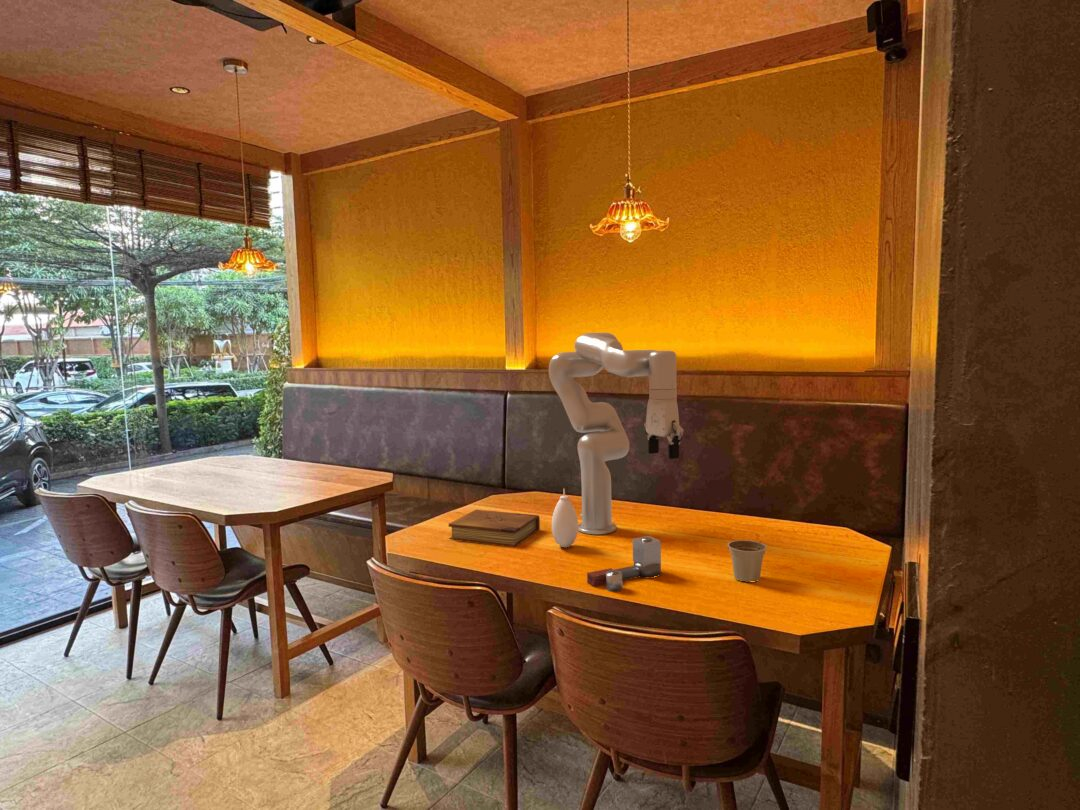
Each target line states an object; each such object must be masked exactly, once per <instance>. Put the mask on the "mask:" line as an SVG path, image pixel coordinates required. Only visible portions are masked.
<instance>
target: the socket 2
mask: <svg viewBox="0 0 1080 810" xmlns="http://www.w3.org/2000/svg"><path fill="white" fill-rule="evenodd" d="M661 542H662V541H661V540H659V539H657V538H655V537H653V536H651V535H647V536H645V535H644V536H640V537H634V538H632V561H633V563H634V562H636V563H638V564H640V565H642V566H643V567H645V566H650V565H656V564H661V565H662V554H661V553H662V549H661V548H662V547H661V546H662V545H661V544H662V543H661Z"/></svg>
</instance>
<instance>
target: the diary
mask: <svg viewBox="0 0 1080 810" xmlns="http://www.w3.org/2000/svg"><path fill="white" fill-rule="evenodd" d="M540 521H541V520H540V516H539V514H529V513H517V512H509V511H508V512H505V511H497V510H496V511H495V510H483V509H475V510H472V511H470V512H468V513H467V514H465V515H463V516H461V517H459V518H457V519H455V520H453V521H451V522H449V523H448V527H449V528H451V537H449V538H448V539H455V540H454V541H456V540H462V541H461V542H465V541H470V542H469V543H474V542H478V543H477V544H483V543H487V544H486V545H492V544H495V545H496V546H501V545H504V546H503V547H510V546H514V548H516V547H518V546H519V545H521V544H522V543H524V542H525V541H526V540H528V539H529V538H531V535H532V536H533V535H535V534H536V533H537V531H538V530H539V531H540V530H541V526H540V525H541V523H540ZM539 531H538V532H539ZM534 533H535V534H534ZM527 538H528V539H527ZM524 540H525V541H524ZM521 542H522V543H521ZM518 544H519V545H518ZM495 545H494V546H495ZM517 545H518V546H517Z"/></svg>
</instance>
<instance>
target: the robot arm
mask: <svg viewBox="0 0 1080 810" xmlns="http://www.w3.org/2000/svg"><path fill="white" fill-rule="evenodd" d="M623 348H624V347H623V346H622V343H621V342H620V341H619V340H618V338H617V337H616V336H615V335H614V334H613V333H610V332H586V333H584V334H583V333H582V334H581V335H579V336H578V337H577V338H576V340H575V342H574V350H575V351H568V352H566V351H565V352H559V353H556V354H555V355H554V356H552V358H551V359H550V361H549V364H548V377H549V380H550V383H551V385H552V387H553V389H554V390H555V392H556V394H557V395H558V397H559V398H560V401H561V403H562V405H563V408H564V410H565V412H566V415H567V418H568V419H569V420H568V421H569V422H570V423H571V427H572V428H573V430H574V431H576V432H577V433H581V434H582V433H585V434H584V435H582V436H581V437H579V439H578V442H577V448H576V449H577V454H578V458H579V464H580V474H581V475H580V477H581V478H580V479H581V480H580V481H581V482H580V483H581V513H580V514H579V517H580V518H581V522H580V523H578V531H579V532H580V533H583V534H588V535H607V534H612V533H614V532H616V531H617V528H618V527H617V524H616V523H614V522H612V521H613V520H612V516H613V515H612V477H611V476H612V475H611V472H610V471H611V470H609V467H608V466H607V465H606V462H608V461H613V460H619V459H622V458H625V456H627V455H628V453H629V451H630V442H629V437H628V436H627V433H626V430H625V428H624V427H623V424H622V422H621V420H620V418H619V415H618V413H617V411H616V409H615V408H614V407H613V405H611V404H610V403H608V402H606V401H605V402H604V401H597V402H592V401H591V400H590V399H589V396H588V394H587V392H586V390H585V389H584V387H583V386H582V385H581V384H580V383H579V382H577V381H576V380H575V379H574V378H585V377H593V376H595V375H597V374H599V373H600V372H601V371H602V370H603V369H605V370H606V371H607V372H608V373H610V374H613V375H617V376H619V377H624V378H635V377H648V385H649V387H648V388H649V389H648V390H649V391H648V394H649V395H648V396H649V397H648V400H647V401H648V402H647V406H646V415H645V417H646V419H645V422H644V424H643V425H644V429H645V433H646V439H647V440H648V441H647V442H648V443H647V448H648V451H647V453H648V454H651V455H652V454H658V453H660V452H659V447H660V446H659V438H658V437H660V438H667V441H668V442H669V444H668V445H667V447H668V449H667V450H668V453H667V454H668V455H667V456H668V459H670V460H673V459H675V460H676V459H680V445H681V441H682V439H683V434H684V431H685V430H684V428H683V427H682V426H681V425H680V415H679V408H678V401H677V400H678V399H677V397H678V396H677V395H678V393H677V377H678V376H677V375H678V374H677V354H676V352H675V351H673V350H654V349H637V350H636V349H634V350H633V349H632V350H625V349H623Z"/></svg>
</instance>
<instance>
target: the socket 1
mask: <svg viewBox="0 0 1080 810" xmlns="http://www.w3.org/2000/svg"><path fill="white" fill-rule="evenodd" d="M605 587H606V588H605V590H607V591H608V592H613V593H617V592H621V591H622V590H623V580H622V572H620V571H617V570H614V569H613V570H611V571H607V572H606V584H605Z"/></svg>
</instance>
